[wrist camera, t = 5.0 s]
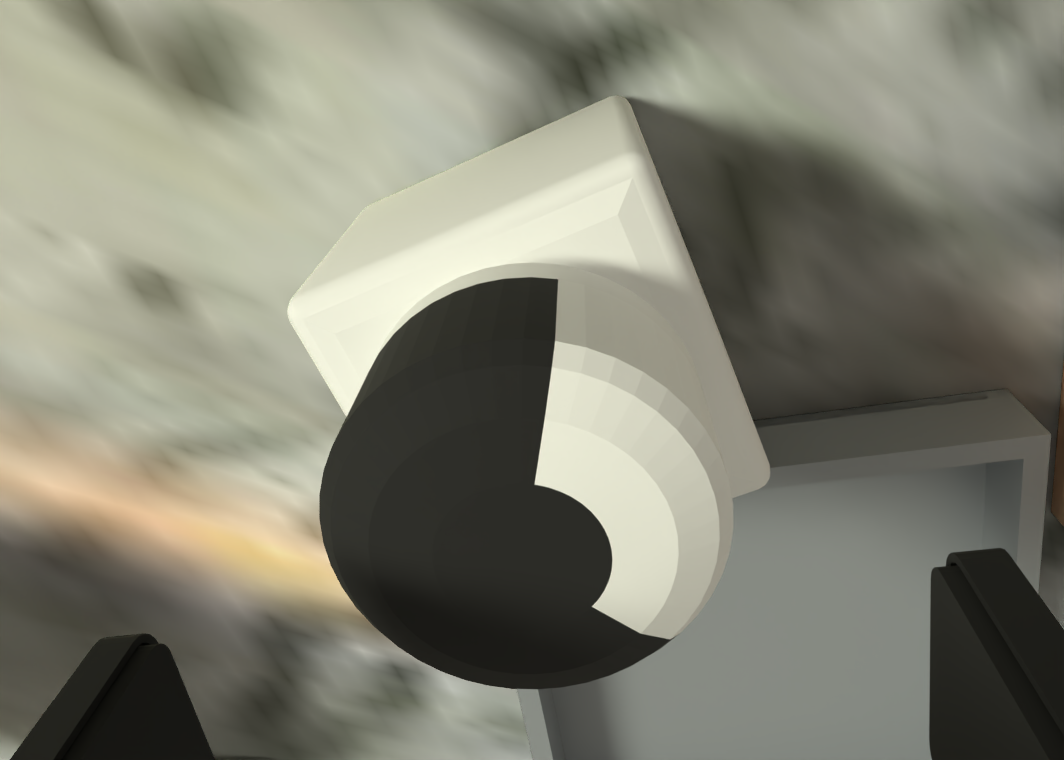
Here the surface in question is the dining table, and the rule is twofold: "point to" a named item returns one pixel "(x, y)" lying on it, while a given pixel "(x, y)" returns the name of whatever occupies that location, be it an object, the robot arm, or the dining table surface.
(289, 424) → the dining table surface
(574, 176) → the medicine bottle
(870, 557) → the grey square tray
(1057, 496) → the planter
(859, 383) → the dining table surface
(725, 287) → the dining table surface
